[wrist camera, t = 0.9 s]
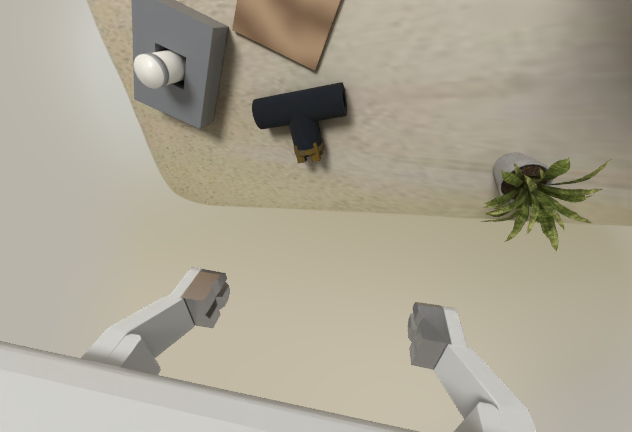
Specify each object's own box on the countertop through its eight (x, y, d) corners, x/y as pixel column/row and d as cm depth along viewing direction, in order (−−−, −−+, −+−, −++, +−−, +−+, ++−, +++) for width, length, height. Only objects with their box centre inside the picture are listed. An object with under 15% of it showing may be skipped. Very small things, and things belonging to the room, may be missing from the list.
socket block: (154, -10, 42) (131, -13, 38) (228, 26, 43) (213, 27, 39) (153, 92, 51) (134, 99, 47) (213, 120, 52) (199, 129, 48)
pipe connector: (350, 158, 46) (269, 168, 50) (352, 147, 51) (277, 156, 55) (339, 85, 40) (248, 102, 44) (343, 79, 45) (260, 96, 49)
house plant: (492, 107, 43) (542, 147, 30) (583, 127, 42) (676, 176, 29) (451, 185, 51) (475, 243, 38) (526, 202, 50) (577, 267, 37)
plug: (176, 42, 46) (133, 47, 38) (201, 55, 46) (164, 62, 38) (174, 70, 48) (133, 80, 40) (198, 81, 49) (163, 94, 41)
